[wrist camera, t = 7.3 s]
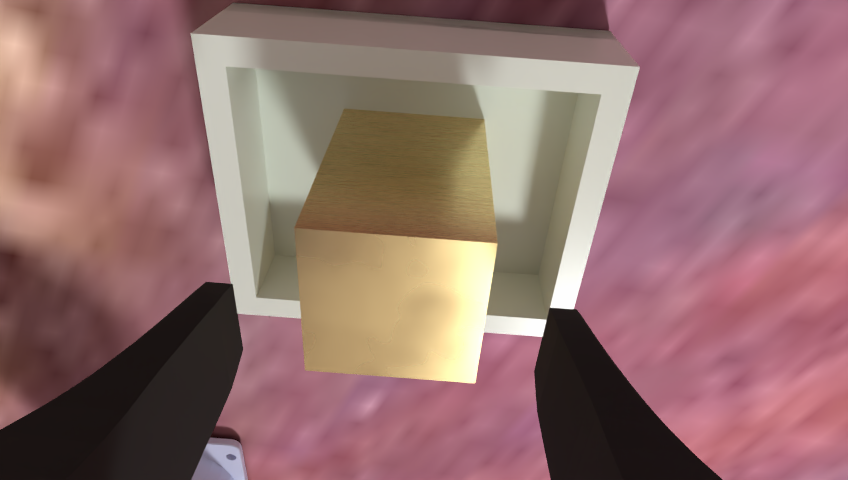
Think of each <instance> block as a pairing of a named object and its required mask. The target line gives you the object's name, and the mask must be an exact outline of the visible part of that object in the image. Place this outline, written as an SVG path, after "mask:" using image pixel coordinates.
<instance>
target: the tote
mask: <svg viewBox="0 0 848 480" xmlns="http://www.w3.org/2000/svg"><path fill="white" fill-rule="evenodd" d="M191 39H192V45H193V51H194V58H195V64H196V70H197V76H198V82H199V89H200V95H201V101H202V107H203V113H204V120H205V126H206V132H207V138H208V144H209V150H210V157H211V163H212V169H213V175H214V181H215V188H216V194H217V200H218V206H219V212H220V219H221V225H222V231H223V237H224V243H225V249H226V256H227V262H228V268H229V274H230V280H231V284H233V289H234V295H235V301H236V308H237V314H249V315H263V316H276V317H289V318H301V311H300V298H299V285H298V272H297V259H296V246H295V233H294V227H295V225H296V222H297V220H298V217H299V215H300V213H301V210H302V208H303V206H304V203H305V201H306V198H307V196H308V194H309V191H310V189H311V186H312V184H313V182H314V179H315V177H316V174H317V172H318V170H319V167H320V165H321V162H322V160H323V158H324V155H325V153H326V151H327V148H328V146H329V143H330V141H331V139H332V136H333V134H334V131H335V129H336V127H337V124H338V122H339V119H340V117H341V115H342V112H343V110H344V109H357V110H370V111H383V112H397V113H410V114H423V115H437V116H450V117H463V118H476V119H484V120H485V129H486V138H487V148H488V157H489V166H490V176H491V185H492V194H493V204H494V213H495V222H496V232H497V241H498V245H497V251H496V257H495V264H494V270H493V276H492V282H491V288H490V294H489V301H488V307H487V313H486V319H485V325H484V331H483V332H487V333H500V334H513V335H527V336H540V337H543V333H544V329H545V325H546V320H547V316H548V312H549V308H563V309H574V306H575V302H576V299H577V295H578V291H579V288H580V284H581V280H582V277H583V273H584V269H585V266H586V262H587V259H588V255H589V251H590V248H591V244H592V240H593V237H594V233H595V229H596V226H597V222H598V218H599V215H600V211H601V207H602V204H603V200H604V196H605V193H606V189H607V185H608V182H609V178H610V174H611V171H612V167H613V163H614V160H615V156H616V152H617V149H618V145H619V141H620V138H621V134H622V130H623V127H624V123H625V119H626V116H627V112H628V108H629V105H630V101H631V97H632V94H633V90H634V86H635V83H636V79H637V75H638V72H639V68H640V67H639V65H638V64H637V63H636V62H635V61H634V59H633V58H632V57H631V56H630V55H629V53H628V52H627V51H626V50H625V49H624V47H623V46H622V45H621V44H620V42H619V41H618V40H617V39H616V38H615V36H614V35H613V34H612V33H611V32H610V31H605V30H592V29H579V28H565V27H552V26H539V25H525V24H512V23H498V22H485V21H472V20H458V19H445V18H432V17H418V16H405V15H392V14H378V13H365V12H351V11H338V10H325V9H311V8H298V7H285V6H271V5H258V4H245V3H232V4H231V5H229V6H228V7H227V8H225V9H224V10H222V11H221V12H220V13H218V14H217V15H215V16H214V17H213V18H211V19H210V20H208V21H207V22H206V23H204V24H203V25H201V26H200V27H199V28H197V29H196V30H195V31H193V32H192V33H191Z"/></svg>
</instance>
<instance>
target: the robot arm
mask: <svg viewBox="0 0 848 480" xmlns="http://www.w3.org/2000/svg"><path fill="white" fill-rule="evenodd" d="M242 351H243V346H242V339H241V333H240V327H239V320H238V314H237V308H236V301H235V295H234V289H233V284H226V283H213V282H206V283H204V284H203V285H202V286H201V287H200V288H198V289H197V290H196V291H195V292H194V293H192V294H191V295H190V296H189V297H188V298H187V299H185V300H184V301H183V302H182V303H181V304H180V305H178V306H177V307H176V308H175V309H174V310H173V311H171V312H170V313H169V314H168V315H167V316H166V317H164V318H163V319H162V320H161V321H160V322H159V323H157V324H156V325H155V326H154V327H153V328H151V329H150V330H149V331H148V332H147V333H145V334H144V335H143V336H142V337H140V338H139V339H138V340H137V341H136V342H134V343H133V344H132V345H131V346H129V347H128V348H127V349H125V350H124V351H123V352H121V353H120V354H119V355H117V356H116V357H115V358H113V359H112V360H111V361H109V362H108V363H107V364H106V365H104V366H103V367H102V368H100V369H99V370H97V371H96V372H95V373H93V374H92V375H90V376H89V377H87V378H86V379H84V380H83V381H82V382H80V383H79V384H77V385H76V386H74V387H72V388H71V389H69V390H68V391H66V392H65V393H63V394H61V395H60V396H58V397H57V398H55V399H54V400H52V401H50V402H49V403H47V404H45V405H44V406H42V407H40V408H38V409H37V410H35V411H33V412H31V413H30V414H28V415H26V416H24V417H22V418H21V419H19V420H17V421H15V422H14V423H12V424H10V425H8V426H7V427H5V428H3V429H1V430H0V480H248V477H247V472H246V467H245V461H244V456H243V451H242V446H241V444H240V443H239V442H238V441H236V440H233V439H224V438H210V437H211V434H212V432H213V430H214V428H215V425H216V423H217V421H218V419H219V416H220V414H221V412H222V410H223V407H224V405H225V403H226V400H227V398H228V396H229V393H230V391H231V389H232V385H233V382H234V379H235V376H236V372H237V369H238V365H239V362H240V358H241V355H242ZM534 373H535V388H536V401H537V412H538V418H539V423H540V428H541V433H542V438H543V443H544V448H545V453H546V458H547V463H548V468H549V473H550V478H551V480H722V479H721V478H720V477H719V476H718V475H717V474H716V473H714V472H713V471H712V470H711V469H710V468H709V467H708V466H707V465H705V464H704V463H703V462H702V461H701V460H700V459H699V458H698V457H697V456H696V455H695V454H694V453H693V452H692V451H690V450H689V449H688V448H687V447H686V446H685V444H684V443H683V442H682V441H681V440H680V439H679V438H678V437H677V436H676V435H675V434H674V433H673V432H672V431H671V430H670V429H669V428H668V427H667V426H666V425H665V424H664V423H663V422H662V421H661V420H660V419H659V417H658V416H657V415H656V414H655V413H654V412H653V411H652V409H651V408H650V407H649V406H648V405H647V404H646V402H645V401H644V400H643V399H642V398H641V396H640V395H639V394H638V393H637V392H636V390H635V389H634V388H633V387H632V385H631V384H630V383H629V381H628V380H627V379H626V378H625V376H624V375H623V374H622V372H621V371H620V370H619V368H618V367H617V366H616V365H615V363H614V362H613V360H612V359H611V358H610V356H609V355H608V354H607V352H606V351H605V349H604V348H603V347H602V345H601V344H600V342H599V341H598V339H597V338H596V337H595V335H594V334H593V332H592V331H591V329H590V328H589V326H588V325H587V323H586V322H585V320H584V319H583V317H582V316H581V314H580V313H579V312H578V311H577V310H576V309H563V308H549V312H548V316H547V320H546V325H545V329H544V333H543V337H542V341H541V345H540V350H539V354H538V358H537V362H536V366H535V370H534Z"/></svg>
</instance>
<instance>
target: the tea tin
mask: <svg viewBox="0 0 848 480" xmlns="http://www.w3.org/2000/svg"><path fill="white" fill-rule="evenodd" d="M294 233H295V246H296V259H297V272H298V285H299V298H300V311H301V323H302V336H303V349H304V362H305V370H308V371H321V372H334V373H347V374H360V375H374V376H387V377H400V378H413V379H426V380H439V381H453V382H466V383H475V381H476V375H477V369H478V362H479V356H480V350H481V344H482V338H483V331H484V325H485V319H486V313H487V307H488V301H489V294H490V288H491V282H492V276H493V270H494V264H495V257H496V251H497V245H498V241H497V232H496V222H495V213H494V204H493V194H492V185H491V176H490V166H489V157H488V148H487V138H486V129H485V120H484V119H476V118H463V117H450V116H437V115H423V114H410V113H397V112H383V111H370V110H357V109H344V110H343V112H342V115H341V117H340V119H339V122H338V124H337V127H336V129H335V131H334V134H333V136H332V139H331V141H330V143H329V146H328V148H327V151H326V153H325V155H324V158H323V160H322V162H321V165H320V167H319V170H318V172H317V174H316V177H315V179H314V182H313V184H312V186H311V189H310V191H309V194H308V196H307V198H306V201H305V203H304V206H303V208H302V210H301V213H300V215H299V217H298V220H297V222H296V225H295V227H294Z"/></svg>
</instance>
